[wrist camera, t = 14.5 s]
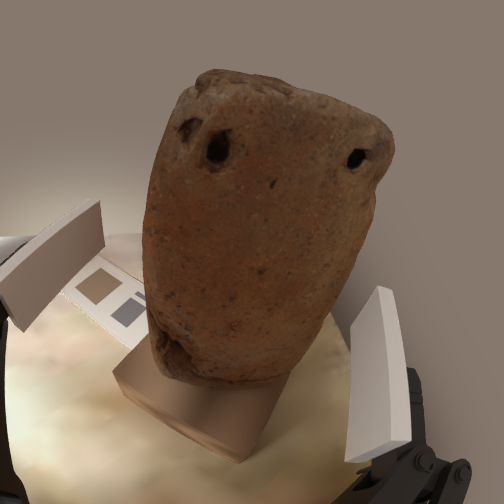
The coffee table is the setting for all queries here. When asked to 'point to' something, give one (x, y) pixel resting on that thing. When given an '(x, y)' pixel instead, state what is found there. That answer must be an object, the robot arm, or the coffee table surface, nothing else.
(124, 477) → the coffee table surface
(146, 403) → the tower base
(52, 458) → the coffee table surface
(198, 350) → the block
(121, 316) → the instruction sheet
